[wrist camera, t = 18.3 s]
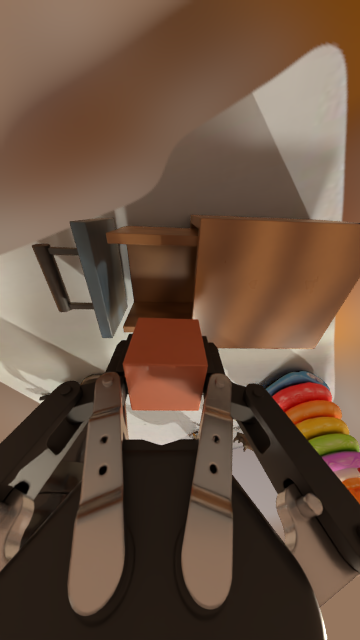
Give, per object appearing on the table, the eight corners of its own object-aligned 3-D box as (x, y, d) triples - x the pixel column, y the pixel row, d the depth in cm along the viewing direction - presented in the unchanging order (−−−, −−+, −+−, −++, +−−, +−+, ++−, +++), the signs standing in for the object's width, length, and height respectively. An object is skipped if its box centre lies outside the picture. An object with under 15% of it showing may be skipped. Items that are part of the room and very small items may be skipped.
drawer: (83, 306, 25) (53, 337, 19) (54, 215, 19) (-5, 218, 12) (209, 308, 26) (220, 339, 20) (222, 222, 19) (243, 228, 13)
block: (142, 359, 15) (131, 410, 11) (138, 317, 12) (121, 364, 8) (193, 360, 15) (199, 411, 11) (198, 318, 12) (208, 365, 9)
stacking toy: (330, 380, 38) (495, 562, 18) (285, 408, 44) (374, 567, 24) (290, 360, 34) (449, 566, 14) (246, 393, 40) (316, 571, 20)
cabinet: (185, 308, 27) (189, 348, 19) (190, 214, 20) (200, 217, 12) (275, 310, 27) (314, 348, 20) (311, 219, 20) (393, 225, 13)
